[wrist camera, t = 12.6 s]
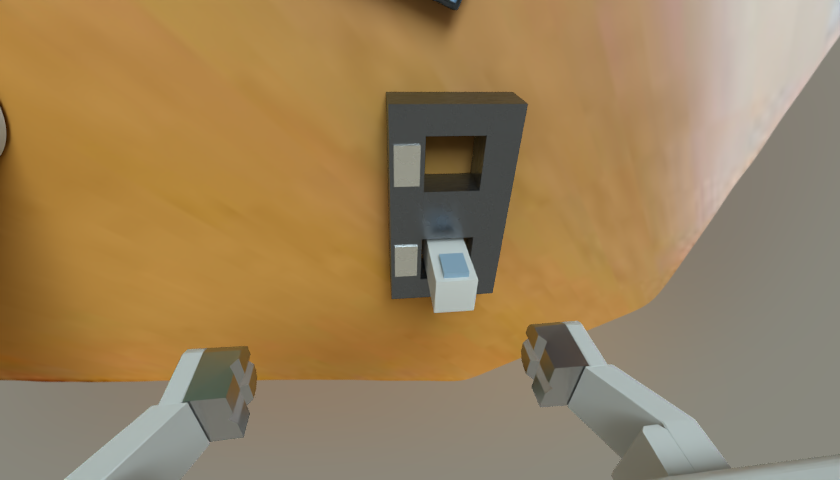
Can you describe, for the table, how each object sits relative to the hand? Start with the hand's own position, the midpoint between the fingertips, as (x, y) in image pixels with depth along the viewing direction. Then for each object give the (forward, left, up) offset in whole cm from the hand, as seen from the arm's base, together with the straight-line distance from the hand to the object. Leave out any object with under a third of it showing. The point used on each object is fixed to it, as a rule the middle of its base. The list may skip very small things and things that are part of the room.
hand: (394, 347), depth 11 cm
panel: (+7, -11, -29) cm, 31 cm away
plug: (+7, -16, -29) cm, 34 cm away
